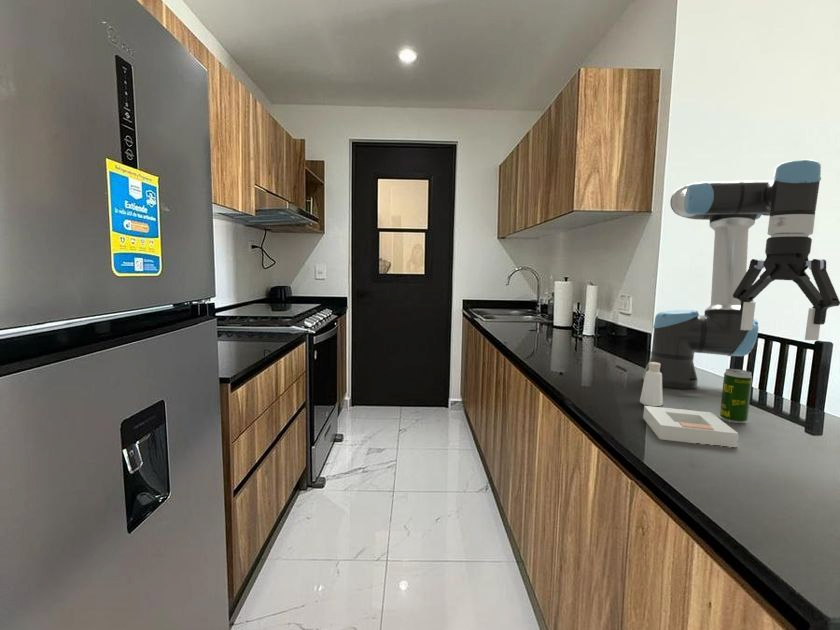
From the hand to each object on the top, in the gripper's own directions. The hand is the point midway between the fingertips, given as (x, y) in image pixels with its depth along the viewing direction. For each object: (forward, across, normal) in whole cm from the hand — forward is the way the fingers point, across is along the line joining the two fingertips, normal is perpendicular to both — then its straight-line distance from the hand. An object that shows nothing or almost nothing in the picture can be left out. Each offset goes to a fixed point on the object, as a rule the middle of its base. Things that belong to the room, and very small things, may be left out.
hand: (776, 334), depth 98 cm
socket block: (+22, -2, -20) cm, 29 cm away
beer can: (+22, -7, -1) cm, 23 cm away
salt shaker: (+22, -22, -11) cm, 33 cm away
